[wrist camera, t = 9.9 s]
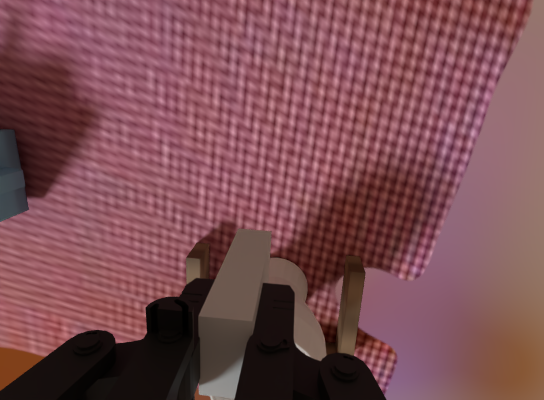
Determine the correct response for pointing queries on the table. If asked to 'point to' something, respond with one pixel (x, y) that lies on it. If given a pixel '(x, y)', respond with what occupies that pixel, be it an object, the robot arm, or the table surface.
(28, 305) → the table surface
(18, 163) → the teapot
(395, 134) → the table surface
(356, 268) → the wooden u-shaped bracket
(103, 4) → the table surface
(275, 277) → the cup
